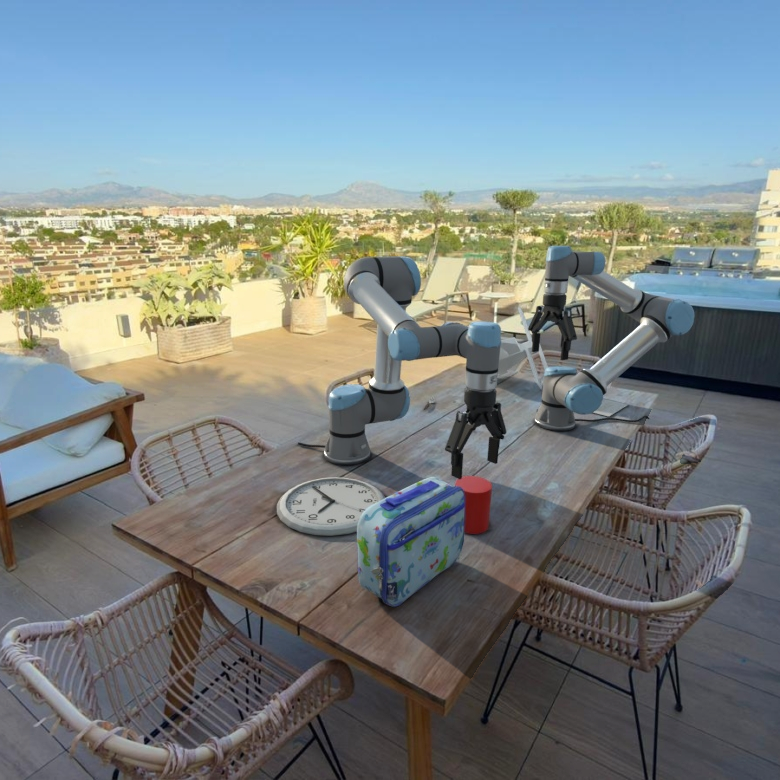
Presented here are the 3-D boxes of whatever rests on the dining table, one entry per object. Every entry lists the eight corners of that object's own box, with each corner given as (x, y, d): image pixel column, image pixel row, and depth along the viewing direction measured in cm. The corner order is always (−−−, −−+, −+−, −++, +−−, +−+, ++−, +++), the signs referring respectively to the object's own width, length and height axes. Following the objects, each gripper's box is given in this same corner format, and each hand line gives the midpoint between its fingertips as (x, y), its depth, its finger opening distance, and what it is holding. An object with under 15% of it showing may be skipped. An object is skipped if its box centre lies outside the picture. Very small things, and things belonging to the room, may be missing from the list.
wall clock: (392, 527, 129) (268, 531, 127) (391, 533, 130) (269, 537, 127) (383, 473, 158) (282, 475, 155) (383, 478, 158) (282, 480, 156)
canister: (449, 515, 139) (451, 476, 135) (483, 514, 140) (486, 475, 136) (457, 534, 130) (460, 493, 127) (493, 533, 131) (496, 492, 128)
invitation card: (608, 416, 214) (573, 407, 224) (608, 416, 214) (573, 408, 224) (628, 404, 229) (594, 396, 238) (628, 405, 229) (594, 397, 238)
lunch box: (386, 620, 101) (388, 525, 95) (350, 593, 108) (349, 503, 102) (468, 563, 119) (474, 480, 112) (432, 543, 126) (436, 464, 120)
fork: (420, 410, 217) (420, 406, 216) (430, 399, 231) (431, 395, 231) (426, 411, 216) (426, 406, 216) (436, 400, 231) (436, 395, 230)
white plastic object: (487, 418, 267) (468, 395, 242) (469, 346, 289) (449, 318, 264) (558, 394, 255) (545, 368, 230) (533, 321, 277) (518, 289, 252)
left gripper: (456, 402, 114) (451, 489, 120) (525, 382, 129) (517, 460, 135) (432, 393, 119) (428, 478, 125) (500, 375, 135) (494, 451, 141)
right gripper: (520, 290, 183) (516, 349, 190) (576, 298, 162) (569, 364, 169) (536, 289, 187) (532, 347, 193) (592, 297, 166) (585, 362, 172)
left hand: (474, 469), depth 130 cm, fingers open, 13 cm apart
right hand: (549, 355), depth 181 cm, fingers open, 13 cm apart
